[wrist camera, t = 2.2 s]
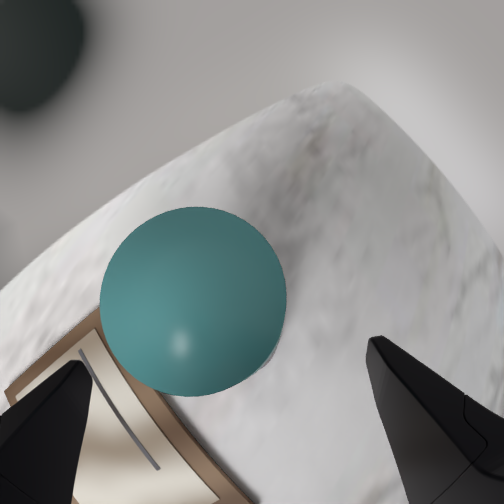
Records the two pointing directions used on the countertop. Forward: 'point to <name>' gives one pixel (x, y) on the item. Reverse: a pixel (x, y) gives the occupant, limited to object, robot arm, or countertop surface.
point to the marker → (193, 302)
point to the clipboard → (129, 433)
